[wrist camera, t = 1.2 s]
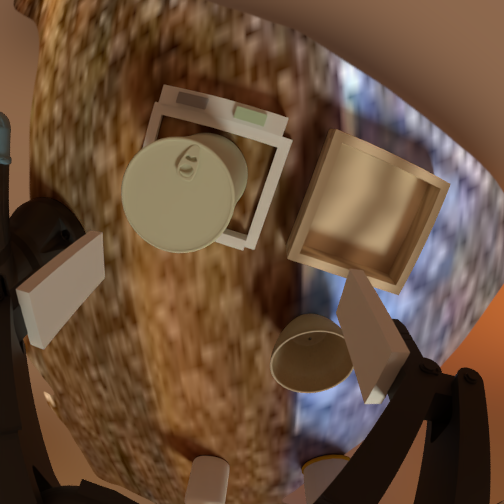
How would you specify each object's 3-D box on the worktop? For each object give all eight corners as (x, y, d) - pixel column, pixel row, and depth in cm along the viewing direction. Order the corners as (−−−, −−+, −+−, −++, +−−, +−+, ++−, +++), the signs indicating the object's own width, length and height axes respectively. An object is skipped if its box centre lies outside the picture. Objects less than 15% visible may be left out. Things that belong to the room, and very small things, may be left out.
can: (262, 154, 32) (256, 168, 21) (226, 227, 36) (205, 275, 25) (184, 119, 31) (141, 118, 20) (154, 194, 35) (104, 226, 24)
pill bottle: (237, 464, 55) (230, 523, 42) (216, 473, 58) (207, 527, 44) (206, 450, 54) (194, 511, 40) (186, 460, 56) (173, 516, 43)
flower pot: (287, 365, 43) (288, 401, 36) (258, 312, 40) (255, 348, 33) (353, 342, 41) (364, 378, 34) (333, 285, 38) (344, 318, 31)
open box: (285, 245, 36) (287, 258, 32) (329, 128, 31) (336, 128, 27) (388, 280, 37) (398, 295, 33) (434, 177, 32) (450, 184, 28)
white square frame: (131, 208, 35) (119, 216, 32) (161, 85, 30) (151, 81, 27) (254, 247, 36) (252, 259, 33) (298, 122, 31) (300, 121, 28)
